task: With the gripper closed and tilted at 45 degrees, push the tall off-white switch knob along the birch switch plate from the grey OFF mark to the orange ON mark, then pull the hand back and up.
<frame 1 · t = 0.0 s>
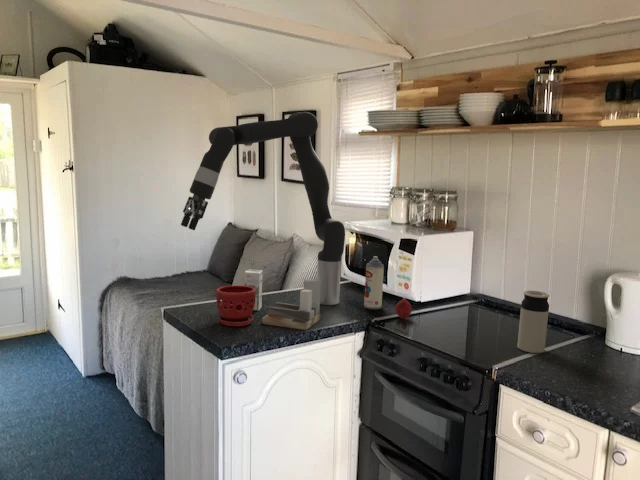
hand: (187, 227, 181), 31 cm above the worktop, tool tilted 20°, fingers open, 8 cm apart
skincare box: (311, 312, 200), on the worktop
plant pot: (235, 323, 183), on the worktop
switch knob: (305, 304, 185), point 7 cm above the worktop, slide at 0.0 cm
onion: (402, 319, 196), on the worktop
travel mug: (530, 349, 169), on the worktop
syrup box: (252, 309, 201), on the worktop
aerosol can: (372, 307, 210), on the worktop
switch plate: (291, 321, 187), on the worktop
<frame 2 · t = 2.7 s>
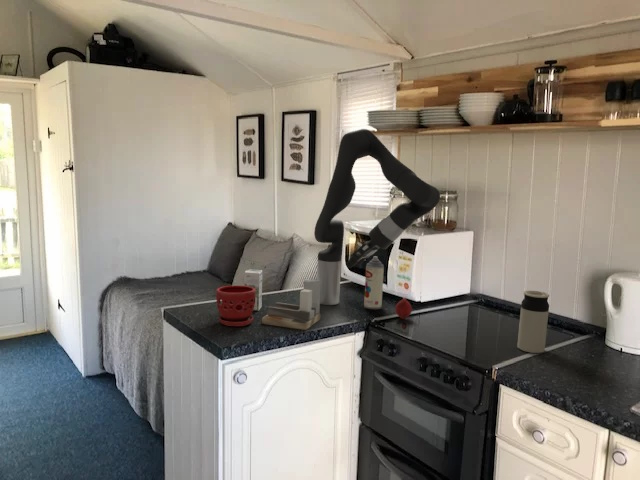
hand: (352, 264, 176), 23 cm above the worktop, tool tilted 45°, fingers open, 8 cm apart
nothing on the worktop moved.
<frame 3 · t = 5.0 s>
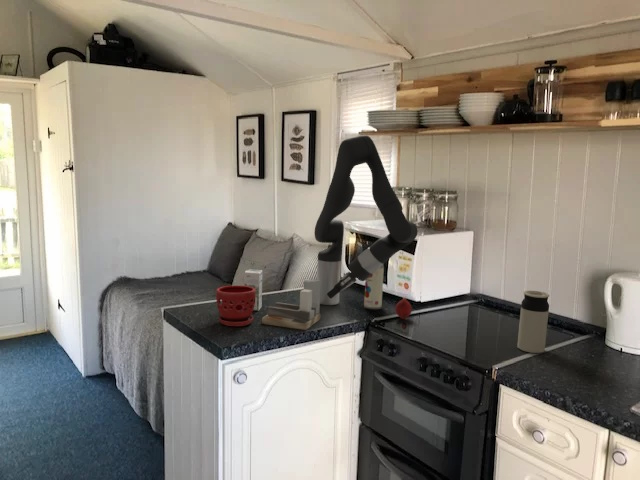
hand: (329, 296, 181), 11 cm above the worktop, tool tilted 45°, fingers closed
nothing on the worktop moved.
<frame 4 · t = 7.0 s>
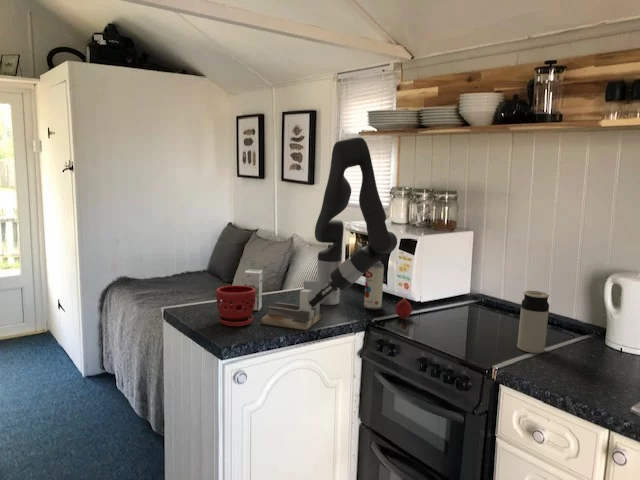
hand: (311, 304, 184), 7 cm above the worktop, tool tilted 45°, fingers closed
switch knob: (305, 304, 185), point 7 cm above the worktop, slide at 0.1 cm, touching gripper
everything else where it was.
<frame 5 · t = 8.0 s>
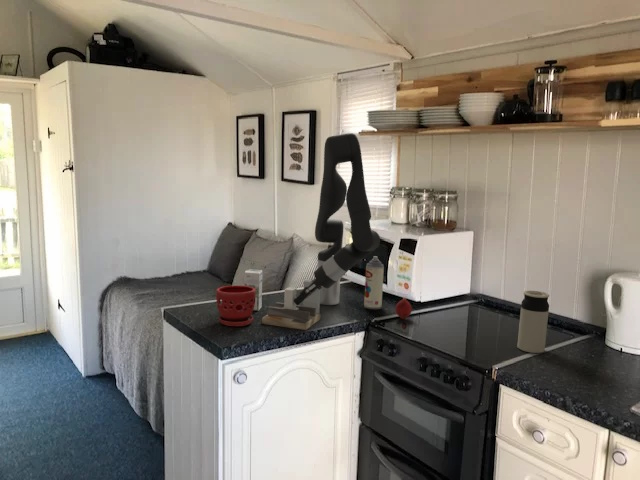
hand: (295, 302, 186), 7 cm above the worktop, tool tilted 45°, fingers closed
switch knob: (290, 301, 187), point 7 cm above the worktop, slide at 5.8 cm, touching gripper
everything else where it was.
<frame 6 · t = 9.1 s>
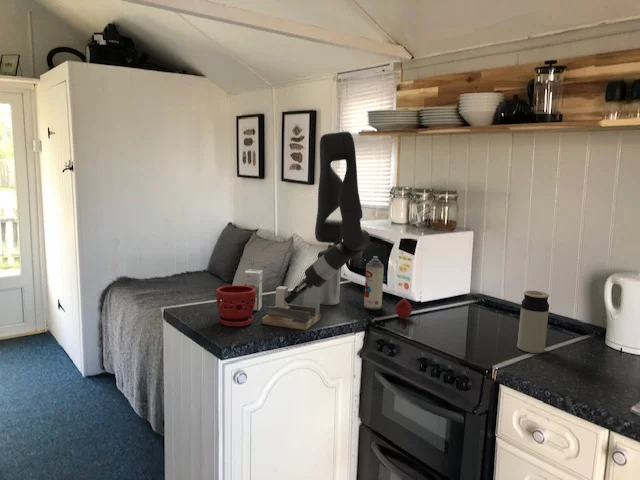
hand: (287, 301, 187), 7 cm above the worktop, tool tilted 45°, fingers closed
switch knob: (281, 300, 188), point 7 cm above the worktop, slide at 9.0 cm, touching gripper
everything else where it was.
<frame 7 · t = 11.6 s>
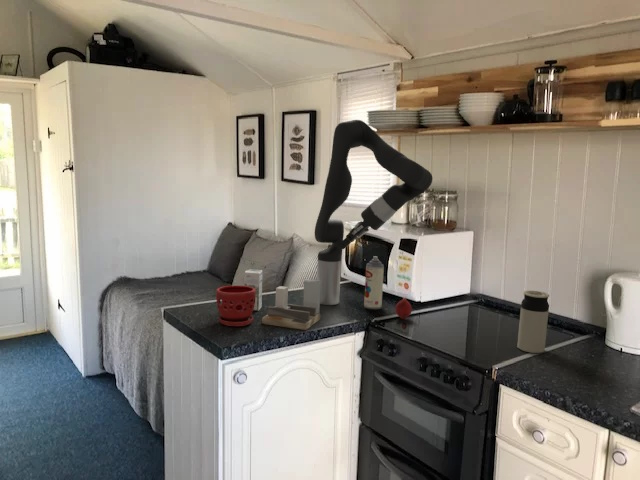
hand: (341, 246, 178), 28 cm above the worktop, tool tilted 45°, fingers closed
switch knob: (281, 300, 188), point 7 cm above the worktop, slide at 9.0 cm
everything else where it was.
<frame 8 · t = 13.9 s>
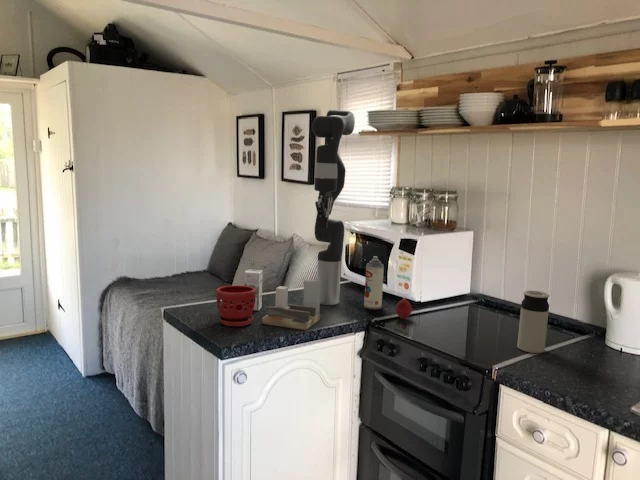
hand: (323, 228, 183), 33 cm above the worktop, tool pointing down, fingers closed
nothing on the worktop moved.
at the end: switch knob slide at 9.0 cm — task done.
